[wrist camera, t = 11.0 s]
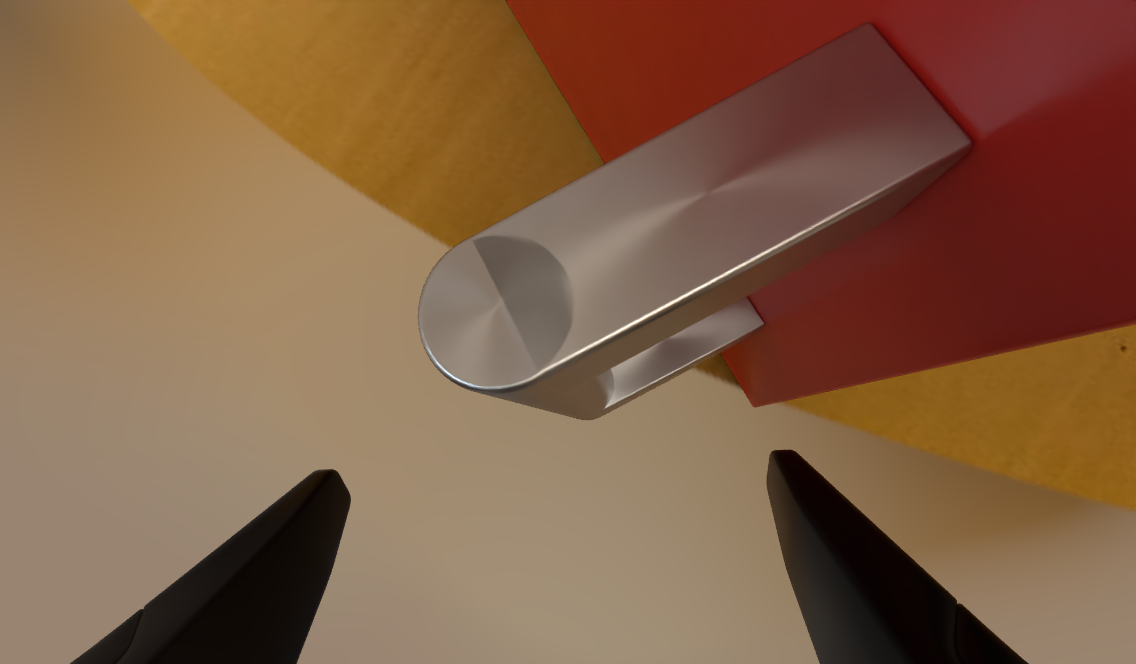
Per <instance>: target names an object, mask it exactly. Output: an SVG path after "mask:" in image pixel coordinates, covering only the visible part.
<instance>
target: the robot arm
mask: <svg viewBox="0 0 1136 664" xmlns="http://www.w3.org/2000/svg"><path fill="white" fill-rule="evenodd" d="M767 489H768V494H769V499H770V503H771V507H772V511H773V516H774V520H775V524H776V529H777V533H778V537H779V541H780V545H781V550H782V554H783V558H784V562H785V566H786V569H787V572H788V575H789V578H790V581H791V584H792V587H793V590H794V592H795V595H796V598H797V601H798V603H799V606H800V609H801V612H802V615H803V618H804V620H805V623H806V626H807V629H808V632H809V634H810V637H811V640H812V643H813V646H814V648H815V651H816V654H817V657H818V659H819V662H820V664H1029V663H1027V662H1026V661H1025V660H1024V659H1022V658H1021V657H1020V656H1019V655H1018V654H1017V653H1015V652H1014V651H1013V650H1012V649H1011V648H1010V647H1009V646H1008V645H1006V644H1005V643H1004V642H1003V641H1002V640H1001V639H1000V638H999V637H997V636H996V635H995V634H994V633H993V632H992V631H991V630H990V629H988V628H987V627H986V626H985V625H984V624H983V623H982V622H981V621H980V620H978V619H977V618H976V617H975V616H974V615H973V614H972V613H971V612H970V611H969V610H968V609H966V608H965V607H964V606H963V605H962V604H957V600H956V599H955V598H954V597H953V596H952V595H951V594H950V593H949V592H948V591H947V590H945V588H943V587H942V586H941V585H940V584H939V583H938V582H937V581H936V580H935V579H934V578H933V577H931V576H930V575H929V574H928V573H927V572H926V571H925V570H924V569H923V568H922V567H920V566H919V565H918V564H917V563H916V562H915V561H914V560H913V559H912V558H911V557H910V556H909V555H908V554H906V553H905V552H904V551H903V550H902V549H901V548H900V547H899V546H898V545H897V544H896V543H894V542H893V541H892V540H891V539H890V538H889V537H888V536H887V535H886V534H885V533H883V531H881V530H880V529H879V528H878V527H877V526H876V525H875V524H874V523H873V522H872V521H871V520H870V519H868V518H867V517H866V516H865V515H864V514H863V513H862V512H861V511H860V510H859V509H857V508H856V507H855V506H854V505H853V504H852V503H851V502H850V501H849V500H848V499H847V498H846V497H845V496H843V495H842V494H841V493H840V492H839V491H838V490H837V489H836V488H835V487H834V486H832V484H830V483H829V482H828V481H827V480H826V479H825V478H824V477H823V476H822V475H821V474H820V473H818V472H817V471H816V470H815V469H814V468H813V467H812V466H811V465H810V464H809V463H808V462H807V461H805V460H804V459H803V458H802V457H801V456H800V455H799V454H798V453H797V452H795V451H793V450H774V451H772V452H771V454H770V457H769V465H768V472H767ZM350 501H351V497H350V493H349V491H348V489H347V488H346V486H345V484H344V482H343V480H342V478H341V477H340V475H339V473H338V472H337V471H336V470H333V469H329V470H317V471H315V472H313V473H312V474H310V475H309V476H308V477H306V478H305V479H304V480H303V481H301V482H300V483H299V484H297V485H296V486H295V487H294V488H292V489H291V490H290V491H289V492H288V493H286V494H285V495H284V496H282V497H281V498H280V499H279V500H277V501H276V502H275V503H274V504H272V505H271V506H270V507H269V508H267V509H266V510H265V511H264V512H262V513H261V514H260V515H258V516H257V517H256V518H255V519H253V520H252V521H251V522H250V523H248V524H247V525H246V526H245V527H243V528H242V529H241V530H240V531H238V532H237V533H236V534H235V535H233V536H232V537H231V538H230V539H228V540H227V541H226V542H225V543H223V544H222V545H221V546H220V547H218V548H217V549H216V550H214V551H213V552H212V553H211V554H209V555H208V556H207V557H206V558H204V559H203V560H202V561H201V562H199V563H198V564H197V565H196V566H195V567H193V568H192V569H191V570H189V571H188V572H187V573H186V574H184V575H183V576H182V577H180V578H179V579H178V580H177V581H175V582H174V583H173V584H172V585H170V586H169V587H168V588H167V589H165V590H164V591H163V592H162V593H160V594H159V595H158V596H156V597H155V598H154V599H153V600H151V601H150V602H149V603H148V604H147V605H145V607H144V609H140V610H139V611H137V612H136V613H135V614H134V615H132V616H131V617H130V618H129V619H127V620H126V621H125V622H124V623H122V624H121V625H120V626H119V627H117V628H116V629H115V630H113V631H112V632H111V633H110V634H108V635H107V636H106V637H104V638H103V639H102V640H101V641H99V642H98V643H97V644H96V645H94V646H93V647H92V648H90V649H89V650H88V651H86V652H85V653H84V654H82V655H81V656H80V657H78V658H77V659H76V660H74V661H73V662H71V663H70V664H297V661H298V658H299V655H300V653H301V650H302V648H303V645H304V643H305V640H306V637H307V635H308V632H309V630H310V627H311V625H312V622H313V620H314V617H315V614H316V612H317V609H318V607H319V604H320V601H321V599H322V596H323V594H324V591H325V588H326V586H327V583H328V580H329V577H330V575H331V572H332V568H333V565H334V562H335V558H336V555H337V551H338V547H339V544H340V540H341V537H342V533H343V529H344V526H345V522H346V519H347V515H348V511H349V508H350V503H351V502H350Z"/></svg>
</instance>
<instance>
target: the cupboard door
mask: <svg viewBox="0 0 1136 664" xmlns="http://www.w3.org/2000/svg"><path fill="white" fill-rule="evenodd" d="M506 2H507V4H508V5H509V7H510V9H511V10H512V12H513V14H514V15H515V17H516V18H517V20H518V22H519V23H520V25H521V27H522V28H523V30H524V32H525V33H526V35H527V37H528V38H529V40H530V41H531V43H532V45H533V46H534V48H535V50H536V51H537V53H538V55H539V56H540V58H541V60H542V61H543V63H544V64H545V66H546V68H547V69H548V71H549V73H550V74H551V76H552V78H553V79H554V81H555V82H556V84H557V86H558V87H559V89H560V91H561V92H562V94H563V96H564V97H565V99H566V101H567V102H568V104H569V105H570V107H571V109H572V110H573V112H574V114H575V115H576V117H577V119H578V120H579V122H580V124H581V125H582V127H583V128H584V130H585V132H586V133H587V135H588V137H589V138H590V140H591V142H592V143H593V145H594V146H595V148H596V150H597V151H598V153H599V155H600V156H601V158H602V160H603V161H604V163H605V164H604V165H602V166H600V167H598V168H597V169H595V170H593V171H591V172H589V173H587V174H585V175H584V176H582V177H580V178H578V179H576V180H574V181H573V182H571V183H569V184H567V185H565V186H563V187H562V188H560V189H558V190H556V191H554V192H552V193H551V194H549V195H547V196H545V197H543V198H541V199H540V200H538V201H536V202H534V203H532V204H530V205H529V206H527V207H525V208H523V209H521V210H519V211H518V212H516V213H514V214H512V215H510V216H508V217H507V218H505V219H503V220H501V221H499V222H497V223H496V224H494V225H492V226H490V227H488V228H486V229H484V230H483V231H481V232H479V233H477V234H475V235H473V236H472V237H470V238H468V239H466V240H464V241H462V242H460V243H459V244H457V245H456V246H454V247H453V248H452V249H450V250H449V251H448V252H447V253H446V254H445V255H444V256H443V257H442V258H441V259H440V260H439V261H438V262H437V264H436V265H435V266H434V268H433V269H432V271H431V272H430V274H429V276H428V278H427V280H426V282H425V284H424V286H423V289H422V293H421V296H420V301H419V307H418V324H419V332H420V336H421V340H422V343H423V346H424V349H425V351H426V352H427V355H428V356H429V358H430V360H431V361H432V363H433V364H434V365H435V367H436V368H437V369H438V370H439V371H440V372H441V373H442V374H443V375H444V376H445V377H447V378H448V379H449V380H451V381H452V382H454V383H455V384H457V385H459V386H461V387H463V388H465V389H468V390H471V391H474V392H478V393H482V394H486V395H489V396H493V397H497V398H501V399H505V400H509V401H512V402H516V403H520V404H524V405H527V406H531V407H535V408H539V409H543V410H546V411H550V412H554V413H558V414H562V415H566V416H569V417H573V418H577V419H581V420H593V419H596V418H599V417H601V416H603V415H605V414H607V413H609V412H611V411H612V410H614V409H616V408H618V407H620V406H622V405H623V404H625V403H627V402H629V401H631V400H633V399H635V398H637V397H639V396H641V395H642V394H644V393H646V392H648V391H650V390H652V389H654V388H656V387H657V386H659V385H661V384H663V383H665V382H667V381H669V380H671V379H673V378H674V377H676V376H678V375H680V374H682V373H684V372H686V371H688V370H690V369H691V368H693V367H695V366H697V365H699V364H701V363H703V362H705V361H706V360H708V359H710V358H712V357H714V356H716V355H718V354H720V353H721V355H722V357H723V358H724V360H725V362H726V363H727V365H728V366H729V368H730V370H731V371H732V373H733V375H734V376H735V378H736V380H737V381H738V383H739V384H740V386H741V388H742V389H743V391H744V393H745V394H746V396H747V398H748V399H749V401H750V403H751V404H752V406H753V407H759V406H764V405H769V404H773V403H778V402H782V401H787V400H792V399H796V398H801V397H805V396H810V395H814V394H819V393H824V392H828V391H833V390H837V389H842V388H846V387H851V386H856V385H860V384H865V383H869V382H874V381H878V380H883V379H888V378H892V377H897V376H901V375H906V374H911V373H915V372H920V371H924V370H929V369H933V368H938V367H943V366H947V365H952V364H956V363H961V362H965V361H970V360H975V359H979V358H984V357H988V356H993V355H997V354H1002V353H1007V352H1011V351H1016V350H1020V349H1025V348H1029V347H1034V346H1039V345H1043V344H1048V343H1052V342H1057V341H1062V340H1066V339H1071V338H1075V337H1080V336H1084V335H1089V334H1094V333H1098V332H1103V331H1107V330H1112V329H1116V328H1121V327H1126V326H1130V325H1135V324H1136V0H506Z"/></svg>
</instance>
